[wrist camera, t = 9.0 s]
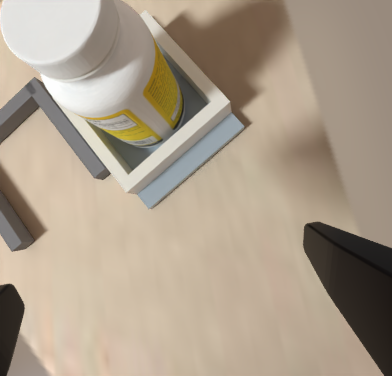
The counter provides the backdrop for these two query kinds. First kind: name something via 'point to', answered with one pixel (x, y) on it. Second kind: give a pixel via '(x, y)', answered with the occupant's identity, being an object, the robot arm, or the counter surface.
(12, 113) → the holster cradle
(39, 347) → the counter surface
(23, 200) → the counter surface
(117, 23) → the supplement bottle
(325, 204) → the counter surface
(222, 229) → the counter surface
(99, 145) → the panel
